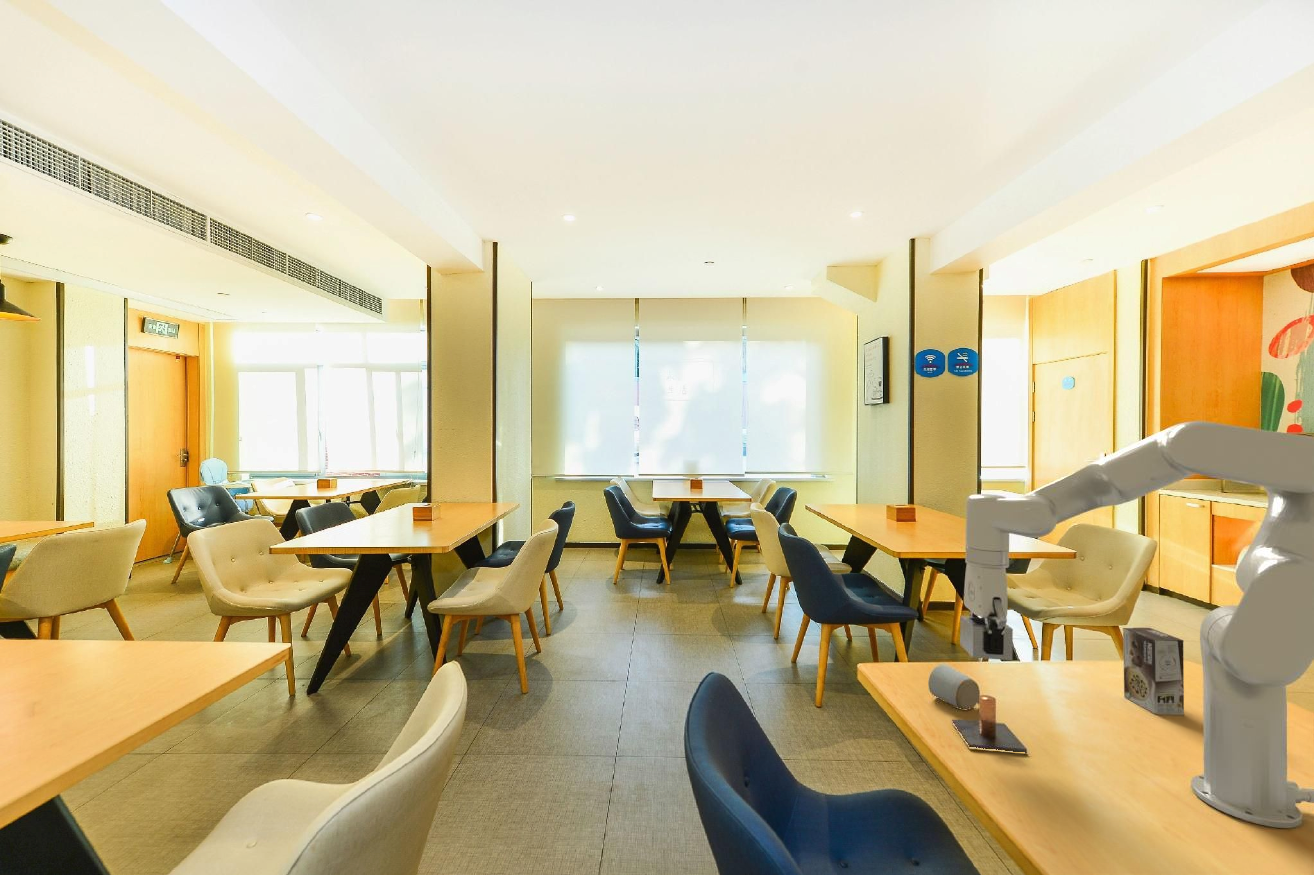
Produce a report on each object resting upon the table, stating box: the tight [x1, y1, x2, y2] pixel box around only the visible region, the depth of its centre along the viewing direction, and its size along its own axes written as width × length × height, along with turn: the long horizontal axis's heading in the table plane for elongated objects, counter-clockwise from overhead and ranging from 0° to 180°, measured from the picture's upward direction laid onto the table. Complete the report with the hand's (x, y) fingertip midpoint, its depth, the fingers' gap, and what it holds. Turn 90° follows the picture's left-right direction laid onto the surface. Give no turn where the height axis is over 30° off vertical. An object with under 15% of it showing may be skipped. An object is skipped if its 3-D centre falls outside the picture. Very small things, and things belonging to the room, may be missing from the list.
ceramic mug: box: [928, 663, 981, 710], centre depth 130 cm, size 11×8×8 cm
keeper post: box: [951, 694, 1028, 754], centre depth 114 cm, size 10×10×8 cm
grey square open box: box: [959, 615, 1014, 661], centre depth 114 cm, size 7×7×6 cm
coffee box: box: [1122, 627, 1185, 716], centre depth 129 cm, size 9×6×16 cm
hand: (985, 646), depth 114 cm, fingers closed on grey square open box, 7 cm apart
